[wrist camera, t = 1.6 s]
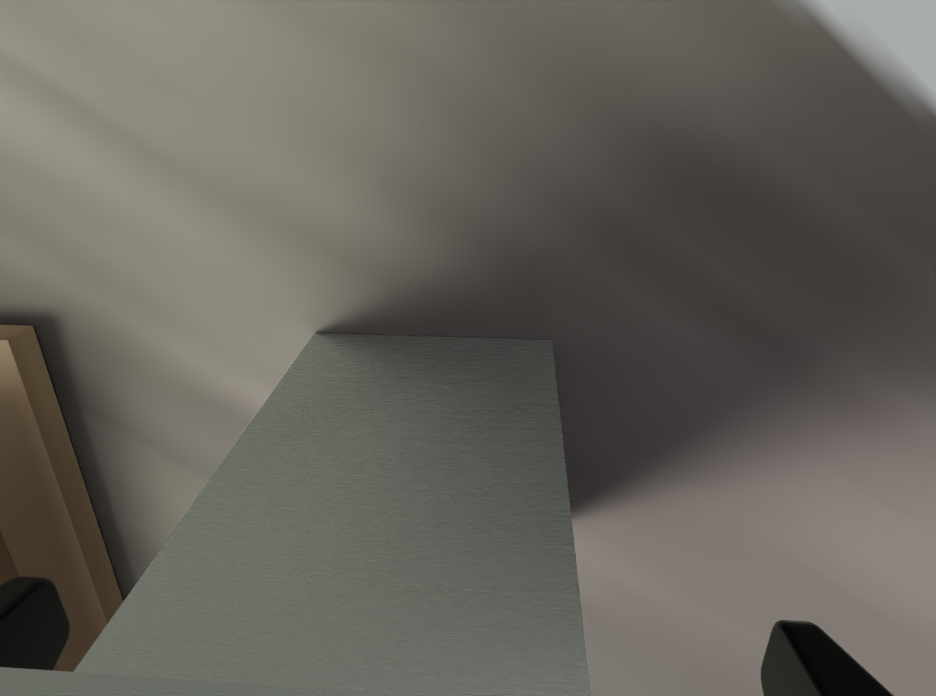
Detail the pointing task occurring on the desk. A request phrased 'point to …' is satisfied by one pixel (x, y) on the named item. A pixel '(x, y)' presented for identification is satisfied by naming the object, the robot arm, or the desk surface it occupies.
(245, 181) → the desk surface
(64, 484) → the frame
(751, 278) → the desk surface
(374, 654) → the stepped grey box
